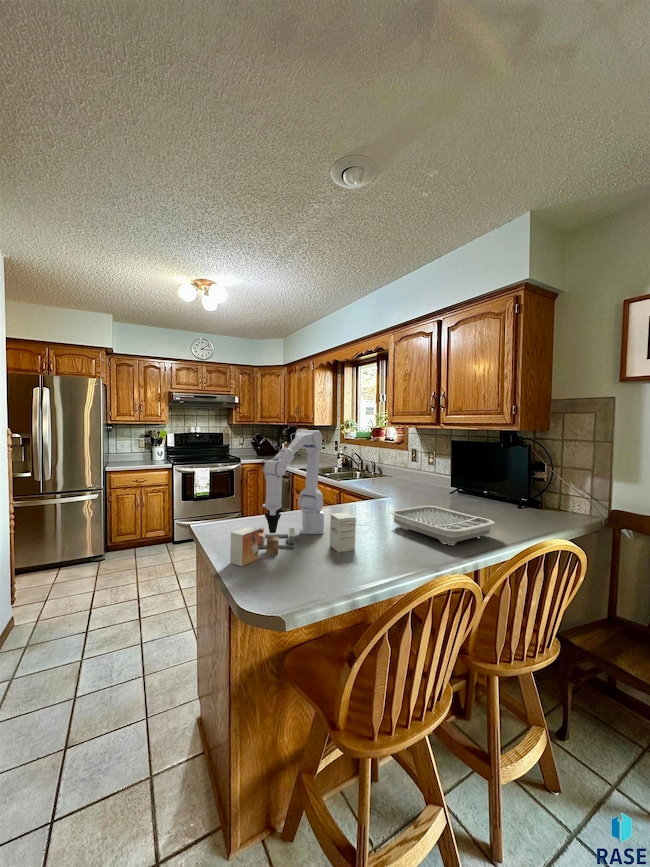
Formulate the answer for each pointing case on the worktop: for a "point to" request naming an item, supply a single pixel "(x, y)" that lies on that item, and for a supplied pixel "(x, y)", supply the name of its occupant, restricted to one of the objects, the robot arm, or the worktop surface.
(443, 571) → the worktop surface
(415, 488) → the worktop surface
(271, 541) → the walnut block
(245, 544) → the small box
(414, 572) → the worktop surface
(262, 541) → the free jaw
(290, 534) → the vise body
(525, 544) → the worktop surface
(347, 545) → the supplement box
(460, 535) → the dish rack
